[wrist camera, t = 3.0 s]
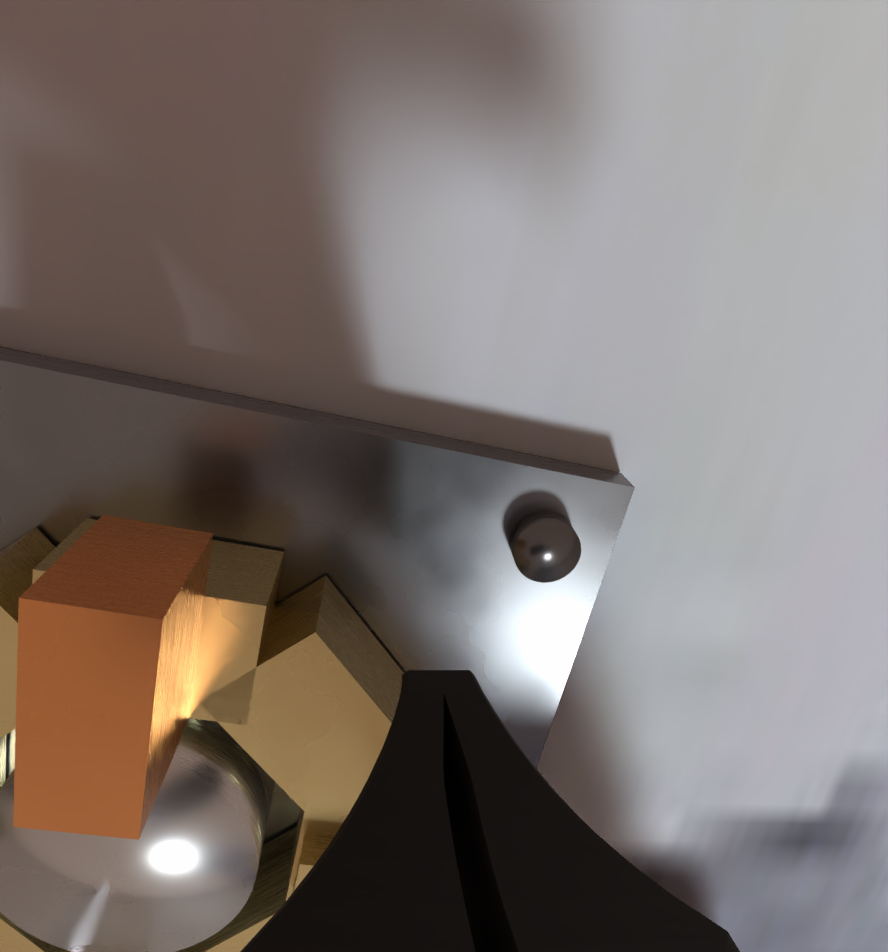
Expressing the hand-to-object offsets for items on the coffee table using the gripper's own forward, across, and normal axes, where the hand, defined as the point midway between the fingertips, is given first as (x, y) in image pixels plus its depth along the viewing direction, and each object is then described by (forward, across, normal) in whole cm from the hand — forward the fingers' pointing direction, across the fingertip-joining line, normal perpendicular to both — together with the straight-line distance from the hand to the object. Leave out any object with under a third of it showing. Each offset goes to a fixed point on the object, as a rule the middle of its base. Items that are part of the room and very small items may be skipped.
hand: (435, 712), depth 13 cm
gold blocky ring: (+4, +7, +4) cm, 9 cm away
